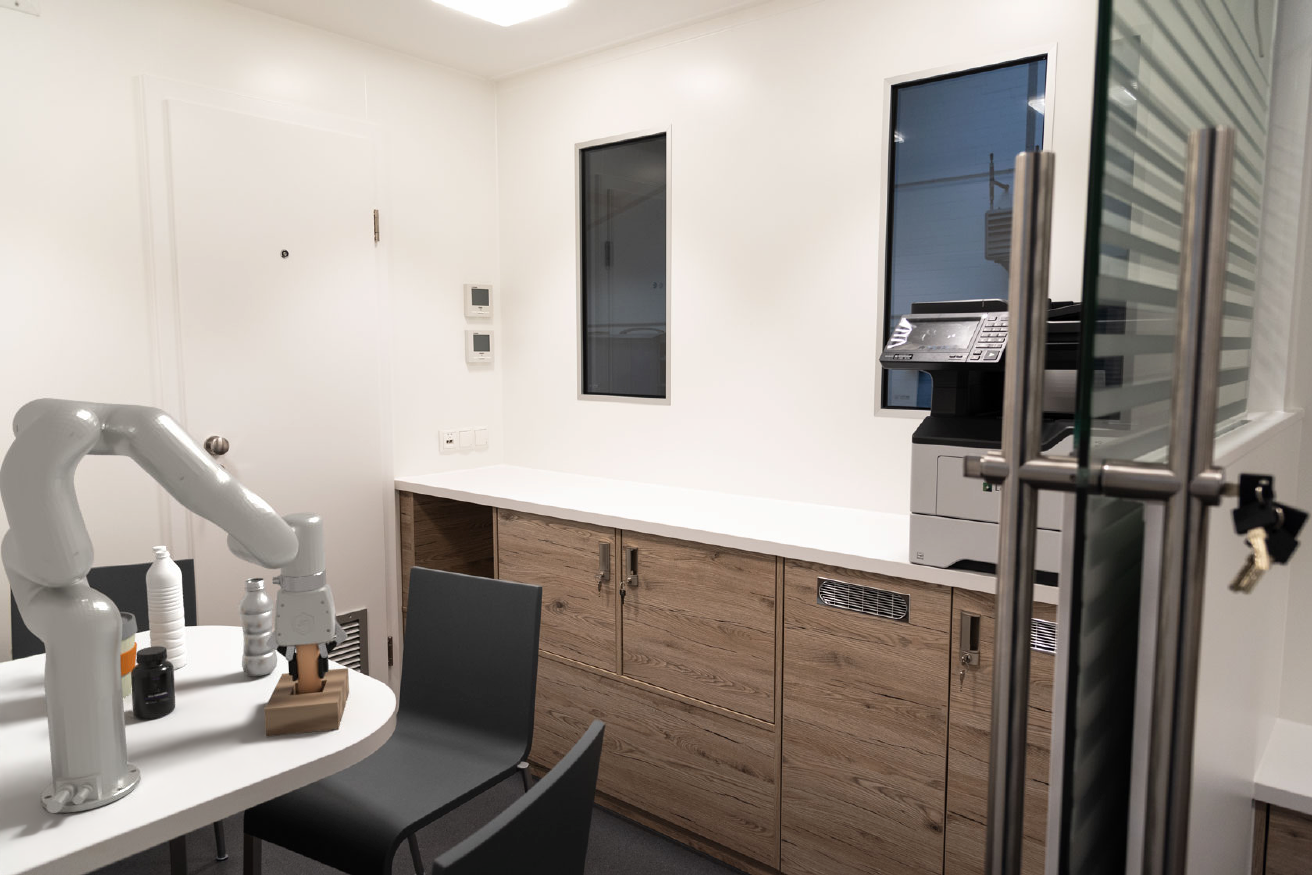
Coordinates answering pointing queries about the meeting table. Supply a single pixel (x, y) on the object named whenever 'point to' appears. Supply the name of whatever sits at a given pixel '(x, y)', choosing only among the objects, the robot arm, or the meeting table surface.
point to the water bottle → (166, 607)
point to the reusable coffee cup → (127, 650)
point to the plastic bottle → (257, 629)
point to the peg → (308, 669)
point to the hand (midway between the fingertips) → (309, 676)
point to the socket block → (307, 705)
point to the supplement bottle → (152, 684)
